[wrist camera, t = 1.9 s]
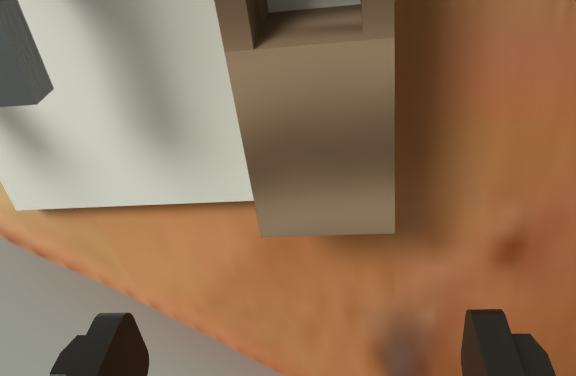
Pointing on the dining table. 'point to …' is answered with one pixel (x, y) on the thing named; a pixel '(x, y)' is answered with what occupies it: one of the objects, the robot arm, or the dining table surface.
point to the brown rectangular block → (315, 114)
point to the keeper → (20, 60)
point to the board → (128, 107)
